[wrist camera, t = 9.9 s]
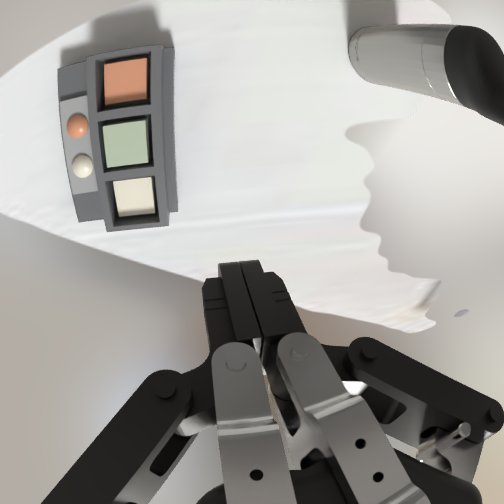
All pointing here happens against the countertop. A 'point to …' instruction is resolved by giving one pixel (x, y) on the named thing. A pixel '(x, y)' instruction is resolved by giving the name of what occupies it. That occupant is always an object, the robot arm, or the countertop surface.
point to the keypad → (92, 139)
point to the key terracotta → (126, 81)
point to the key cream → (135, 196)
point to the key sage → (126, 142)
